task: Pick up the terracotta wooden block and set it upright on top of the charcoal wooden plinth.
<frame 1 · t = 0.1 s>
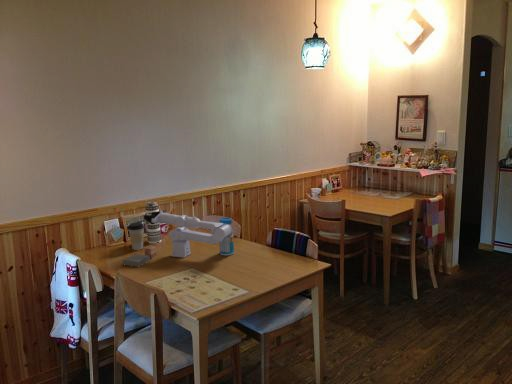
hand: (148, 215, 265), 22 cm above the table, tool horizontal, fingers open, 7 cm apart
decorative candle: (154, 241, 290), on the table
charcoal plinth: (136, 263, 251), on the table
coffee cup: (137, 249, 276), on the table
terracotta block: (150, 257, 259), on the table
beverage bottle: (227, 253, 262), on the table
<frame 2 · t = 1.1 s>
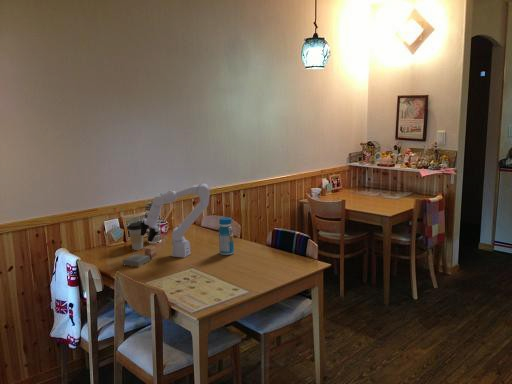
hand: (145, 238, 259), 11 cm above the table, tool tilted 20°, fingers open, 7 cm apart
nothing on the table moved.
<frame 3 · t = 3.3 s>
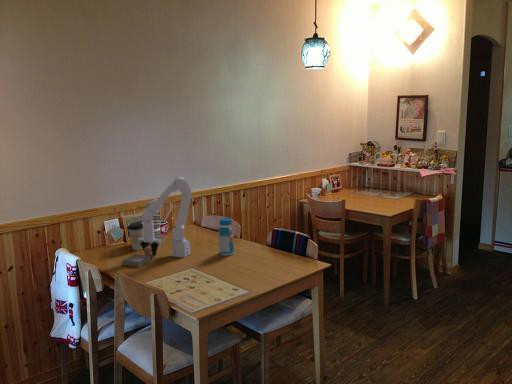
hand: (150, 254, 259), 2 cm above the table, tool pointing down, fingers closed on terracotta block, 4 cm apart
terracotta block: (150, 257, 259), on the table, touching gripper
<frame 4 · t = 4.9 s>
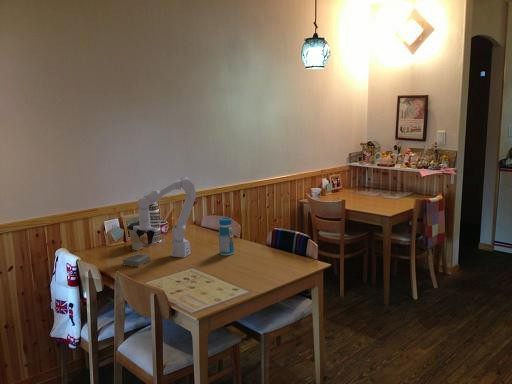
hand: (146, 243, 256), 9 cm above the table, tool pointing down, fingers closed on terracotta block, 4 cm apart
terracotta block: (146, 246, 256), point 7 cm above the table, touching gripper
everything else where it was.
when the fingers open (6 cm above the table, at t = 6.7 s): terracotta block drops 2 cm, resting on charcoal plinth.
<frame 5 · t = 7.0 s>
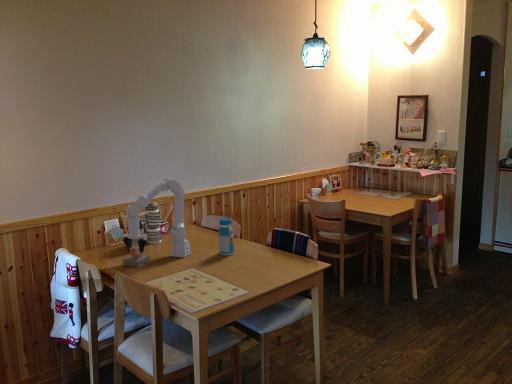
hand: (135, 251, 250), 6 cm above the table, tool pointing down, fingers open, 7 cm apart
terracotta block: (136, 257, 251), point 3 cm above the table, touching charcoal plinth
everything else where it was.
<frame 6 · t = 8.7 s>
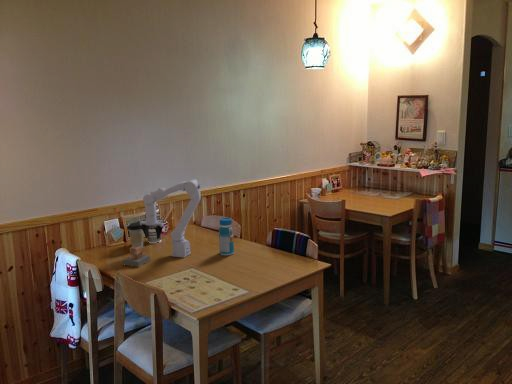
hand: (152, 238, 262), 10 cm above the table, tool pointing down, fingers open, 7 cm apart
nothing on the table moved.
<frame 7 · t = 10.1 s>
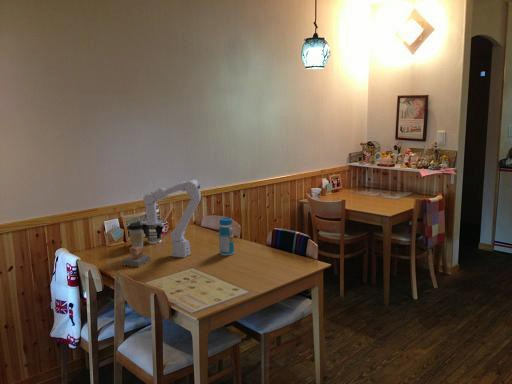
hand: (153, 237, 262), 10 cm above the table, tool pointing down, fingers open, 7 cm apart
nothing on the table moved.
at the end: terracotta block 0.2 cm off-centre on the charcoal plinth, point 3.0 cm above the charcoal plinth's base; terracotta block tilted 0°; the gripper is holding nothing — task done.
